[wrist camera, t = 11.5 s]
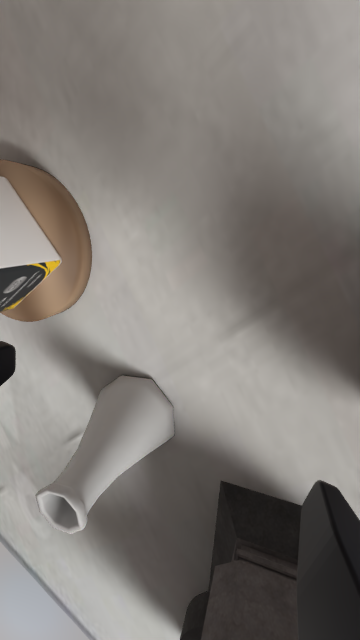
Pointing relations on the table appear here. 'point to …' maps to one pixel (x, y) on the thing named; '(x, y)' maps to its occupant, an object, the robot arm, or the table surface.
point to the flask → (108, 449)
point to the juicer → (249, 571)
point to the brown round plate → (52, 241)
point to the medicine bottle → (21, 249)
